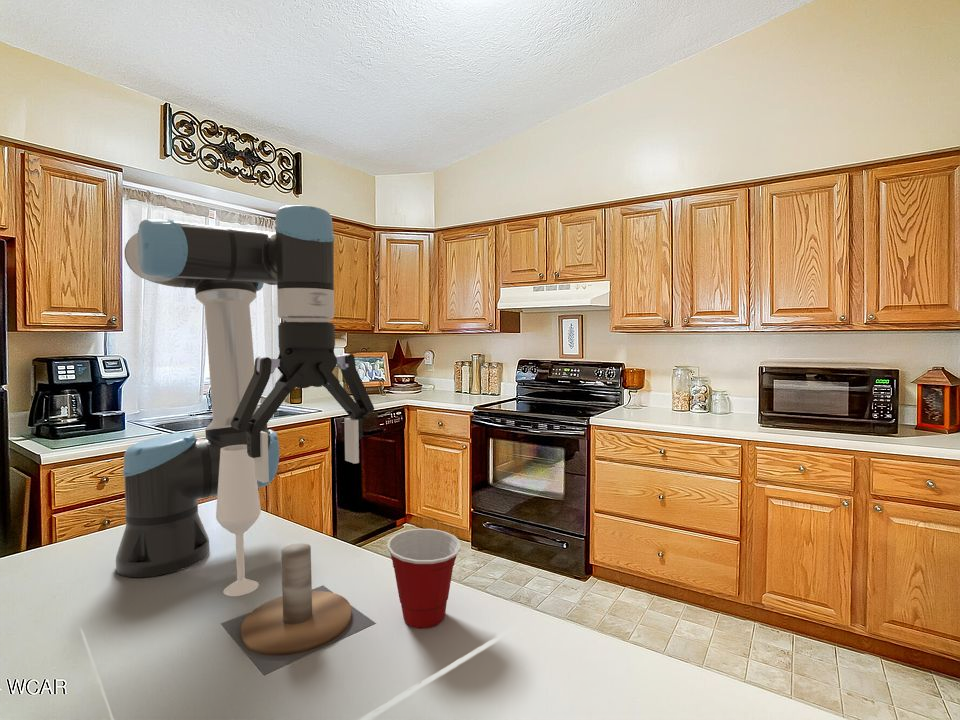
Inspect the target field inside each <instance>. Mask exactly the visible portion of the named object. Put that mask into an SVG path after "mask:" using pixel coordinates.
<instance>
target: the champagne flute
mask: <svg viewBox="0 0 960 720" xmlns="http://www.w3.org/2000/svg"><path fill="white" fill-rule="evenodd" d="M259 493H260V491H259V488H258V485H257V480H256V479H255V465H254V458H252V457H249V456H248V453H247V445H232V446H227V447H223V448H221V449H220V464H219V479H218V494H217V496H216V511H215V519H216V521H217V523H218V524H219V525H220V526H221V527H222V528H223V529H225V530H226V531H228V532H229V533H231V534H233V535H235V554H236V556H235V557H236V560H235V561H236V580H235V581H233V582H231V583H230V584H229V585H227V586H226V587H225V588H224V589H223V594H224V595H226V596H228V597H239V596H244V595H248V594H250V593H252V592H254V591H256V590H257V589H258V588H259V585H260V584H259V582H258V581H257V580H252V579H249V578H246V576H245V575H246V571H245V570H246V569H245V546H244V545H245V540H244V538H245V537H244V533H246V532H247V531H248V530H249V529H250V528H251V527H252V526H253V525H254V524H255V523H256V521H258V519H259V518H260V517H259V516H260V515H261V513H262V507H261V501H260V494H259Z"/></svg>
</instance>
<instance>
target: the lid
mask: <svg viewBox="0 0 960 720" xmlns="http://www.w3.org/2000/svg"><path fill="white" fill-rule="evenodd" d="M311 550H312V549H311V545H310V544H308V543H303V542H299V543H292V544H288V545H286V546H284V547H283V548H281V550H280V551H281V552H280V553H281V554H280V555H281V559H280V560H281V586H282V587H281V589H282V590H281V591H282V593H281V594H282V596H278V597H276V598H273V599H271V600H268V601H266V602H264V603H263V604H261V605H259V606H257V607H256V608H254V609H253V610H252V611H251V613H250V612H249V613H250V614H249V615H248V616H247V617H246V618H245V619H244V621H243V623H242V626H241V640H242V643H243V644H244V646H246V647H247V648H248V649H250V650H251V651H253V652H256V653H259V654H264V655H275V656H278V655H291V654H297V653H301V652H305V651H309V650H312V649H315V648H317V647H320V646H322V645H324V644H326V643H328V642H330V641H332V640H333V639H335V638H336V637H338V636H339V635H340V634H341V633H342V632H343V631H344V630H345V629H346V628H347V627H348V625H349V623H350V621H351V606H352V604H351V603H350V602H349V600H348V599H347V598H346V597H344V596H342V595H340V594H338V593H335V592H333V593H331V592H326V591H312V589H313V587H312V584H313V583H312V582H313V581H312V551H311Z"/></svg>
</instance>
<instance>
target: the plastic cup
mask: <svg viewBox="0 0 960 720" xmlns="http://www.w3.org/2000/svg"><path fill="white" fill-rule="evenodd" d="M386 548H387V551H388V552H389V555H390V556H391V562H392V567H393V569H394V570H393V571H394V577H395V581H396V587H397V593H398V597H399V603H400V605H401V612H402V616H403V617H402V618H403V620H404V622H405V623H406V625H407V626H409V627H411V628H413V629H419V630H421V629H430V628H433V627H437V626H438V625H440V624H441V623H442V622H443V620H444V619H445V617H446V610H447V605H448V604H447V603H448V600H449V594H450V589H451V582H452V577H453V570H454V566H455V563H456V560H457V556H458V555H459V553H460V551H461V549H462V545H461V540H460V539H459V538H457V536H455V535H454V534H452V533H449V532H447V531H445V530H444V531H443V530H439V529H435V528H415V529H414V528H413V529H407V530H404V531H401V532H399V533H398V532H397V533H396V534H393V536H392V537H391V538H389V539H388V540H387V545H386Z"/></svg>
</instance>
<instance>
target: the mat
mask: <svg viewBox="0 0 960 720" xmlns="http://www.w3.org/2000/svg"><path fill="white" fill-rule="evenodd" d="M312 591H326V592H331V593H334V592H333V591H332V590H331V589H329V588H328V587H326V586H325V585H320V586H318V587H315V588H312ZM251 612H252V611H251ZM251 612H248V613H245V614H243V615H239V616H237V617H235V618H232V619H229V620H227V621H224V622H221V623H220V625H221V626H222V627H223V628H224V630H225V631H226V632H227V634H229V635H230V637H231V638H232V639H233V641H234V642H235V643H236V644H237V645H238V647H240V649H241V650H242V651H243V652H244V654H246V655H247V657H248V658H249V659H250V661H251V663H253V664H254V666H256V668H257V669H258V670H259V671H260V672H261V674H262V675H263V676H266V675H268V674H270V673H273V672H274V671H276V670H278V669H280V668H283V667H286V666H287V665H289V664H291V663H294V662H296V661H299V660H300V659H302V658H304V657H307V656H309V655H312V654H313V653H316V652H318V651H320V650H321V649H324V648H326V647H328V646H330V645H333V644H334V643H336V642H339V641H341V640H343V639H345V638H348V637H350V636H352V635H354V634H356V633H358V632H360V631H363V630H366V628H369V627H371V626H373V625H375V624H377V623H376V622H375V621H373V620H372V618H370V617H368V616H367V615H365V614H364V613H362V612H361V611H360V610H358V609H356V608H355V607H354V606H353V605H351V621H350V623H349V625H348V627H347V628H346V629H345V630H344V631H343V632H342V633H341V634H340V635H339V636H338V637H336V638H335V639H333V640H332V641H330V642H328V643H326V644H324V645H322V646H320V647H317V648H315V649H312V650H309V651H305V652H301V653H297V654H291V655H278V656H275V655H264V654H259V653H256V652H253V651H251V650H250V649H248V648H247V647H246V646H244V644H243V643H242V640H241V626H242V623H243V621H244V619H245V618H246V617H247V616H248V615H249V614H250V613H251Z"/></svg>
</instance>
